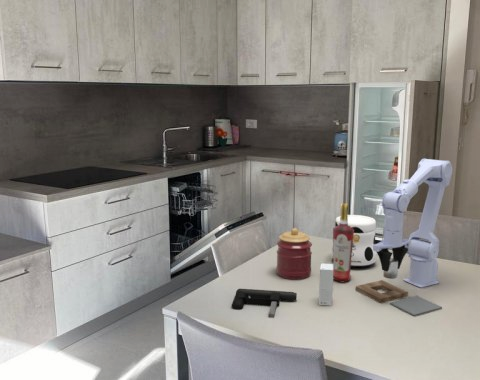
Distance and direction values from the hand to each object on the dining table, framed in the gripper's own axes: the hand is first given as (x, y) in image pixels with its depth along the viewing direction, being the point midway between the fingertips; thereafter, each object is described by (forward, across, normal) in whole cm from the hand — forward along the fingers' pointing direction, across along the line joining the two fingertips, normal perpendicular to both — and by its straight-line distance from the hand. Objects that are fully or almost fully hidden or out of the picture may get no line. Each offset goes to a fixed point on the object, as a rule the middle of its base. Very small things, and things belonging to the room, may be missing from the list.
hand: (390, 269), depth 159 cm
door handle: (+10, +41, -12) cm, 44 cm away
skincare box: (+10, +22, -6) cm, 24 cm away
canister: (+10, +17, -32) cm, 37 cm away
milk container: (+10, -11, -31) cm, 35 cm away
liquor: (+10, +5, -19) cm, 22 cm away
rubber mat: (+9, -2, +10) cm, 14 cm away
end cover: (+2, 0, 0) cm, 2 cm away
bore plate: (+9, 0, -3) cm, 10 cm away
